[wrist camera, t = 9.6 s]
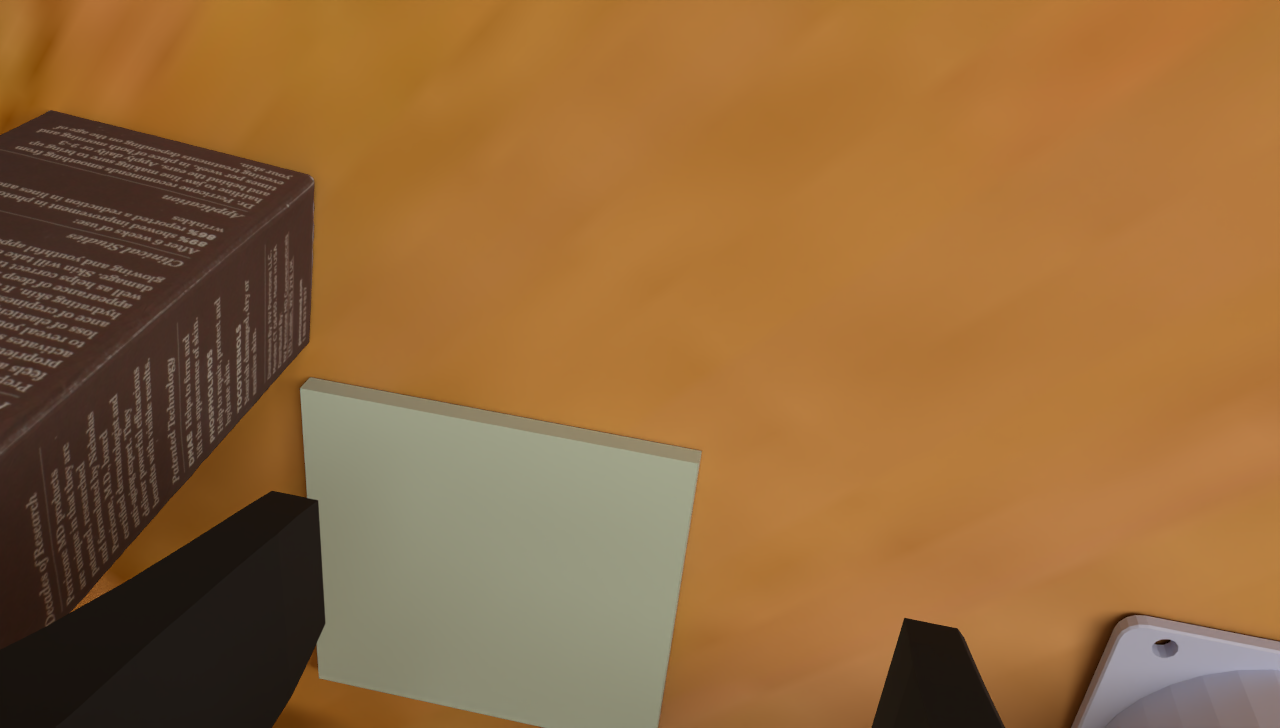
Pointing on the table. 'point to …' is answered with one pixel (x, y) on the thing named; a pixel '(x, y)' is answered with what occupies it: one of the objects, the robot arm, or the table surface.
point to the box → (128, 336)
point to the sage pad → (495, 557)
